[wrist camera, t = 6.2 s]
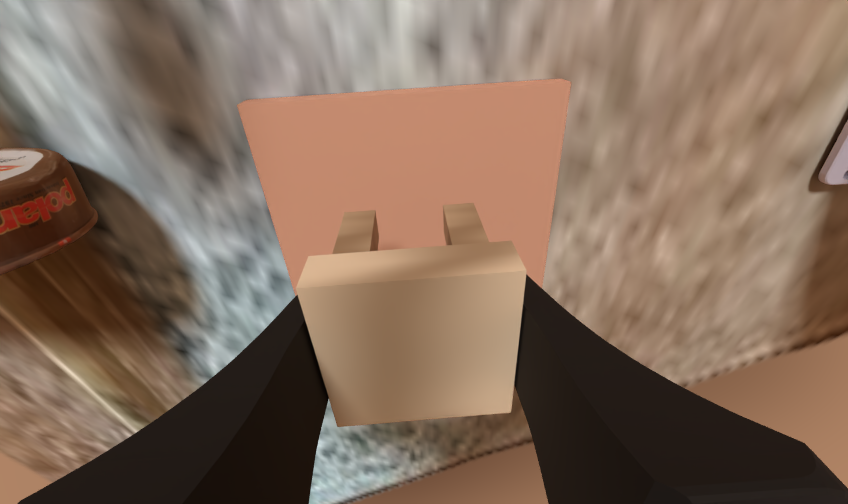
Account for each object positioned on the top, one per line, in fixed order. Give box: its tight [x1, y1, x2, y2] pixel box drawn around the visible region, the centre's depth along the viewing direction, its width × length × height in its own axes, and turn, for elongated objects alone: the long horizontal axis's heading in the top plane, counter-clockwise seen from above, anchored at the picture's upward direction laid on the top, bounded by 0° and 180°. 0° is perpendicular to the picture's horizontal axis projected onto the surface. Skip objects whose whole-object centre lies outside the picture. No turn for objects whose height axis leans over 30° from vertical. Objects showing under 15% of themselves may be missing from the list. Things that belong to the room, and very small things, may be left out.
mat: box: [237, 79, 571, 295], centre depth 16 cm, size 12×10×1 cm
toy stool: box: [296, 203, 527, 427], centre depth 11 cm, size 5×5×4 cm
